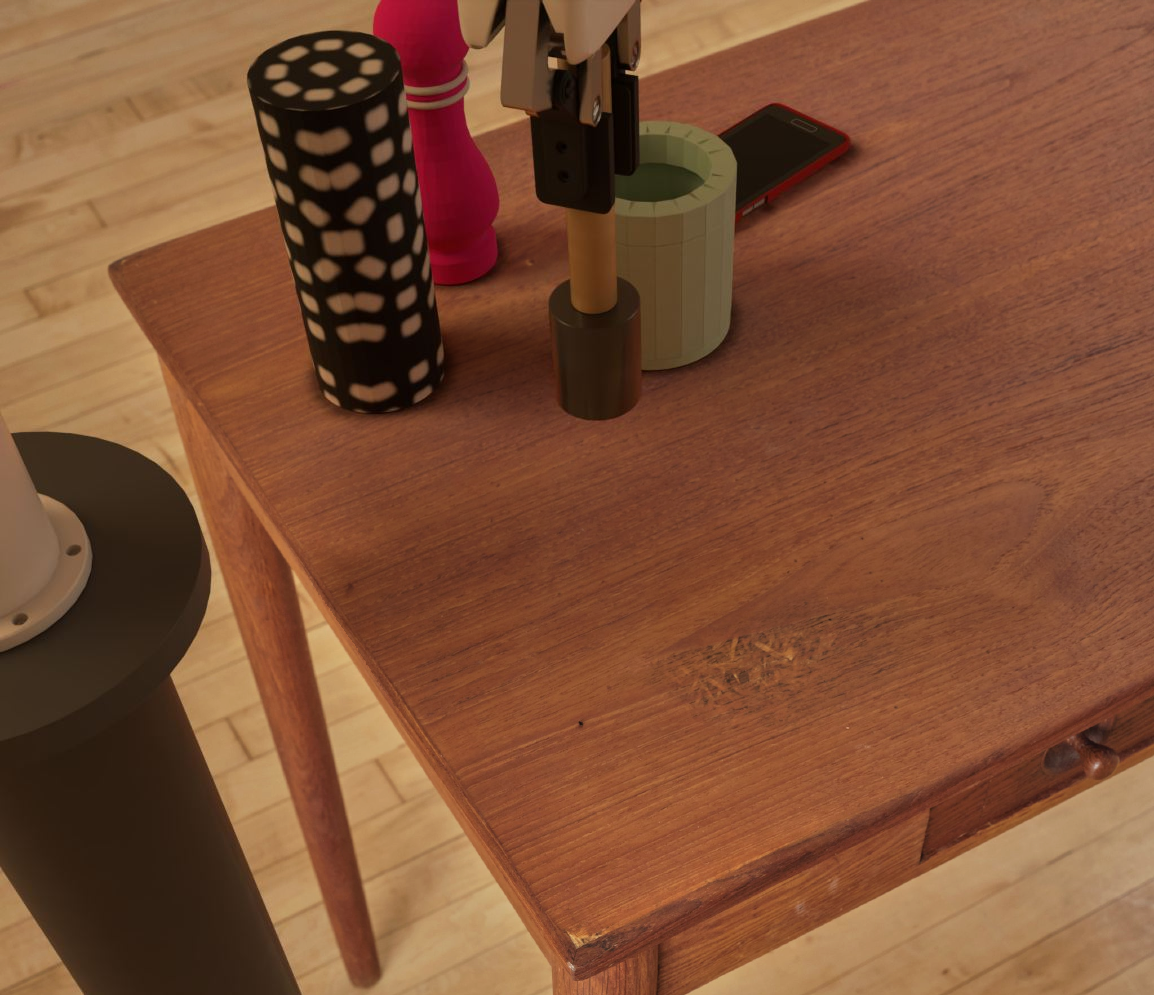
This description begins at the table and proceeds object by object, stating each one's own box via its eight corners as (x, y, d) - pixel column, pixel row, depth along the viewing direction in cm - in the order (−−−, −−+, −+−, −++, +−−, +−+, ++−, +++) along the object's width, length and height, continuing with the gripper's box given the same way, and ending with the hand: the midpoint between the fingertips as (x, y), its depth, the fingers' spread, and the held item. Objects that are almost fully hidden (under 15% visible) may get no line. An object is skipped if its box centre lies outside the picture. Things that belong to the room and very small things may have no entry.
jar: (589, 381, 95) (581, 227, 86) (562, 286, 101) (552, 133, 92) (746, 357, 95) (754, 202, 87) (710, 264, 101) (714, 110, 93)
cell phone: (854, 149, 109) (855, 136, 108) (716, 238, 103) (717, 226, 102) (774, 111, 112) (774, 99, 111) (636, 196, 106) (636, 183, 106)
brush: (561, 427, 67) (537, 84, 55) (549, 371, 70) (523, 30, 57) (648, 415, 68) (645, 71, 55) (634, 359, 70) (627, 18, 57)
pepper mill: (516, 277, 102) (488, -24, 86) (413, 299, 101) (364, 0, 85) (490, 219, 106) (458, -78, 90) (391, 240, 105) (340, -56, 89)
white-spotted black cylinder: (291, 375, 97) (215, 75, 81) (388, 314, 100) (334, 15, 84) (374, 431, 93) (312, 129, 77) (472, 367, 96) (432, 63, 80)
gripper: (548, -452, 51) (574, 73, 66) (336, -276, 42) (421, 283, 57) (760, -438, 49) (738, 99, 64) (583, -251, 40) (605, 321, 55)
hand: (588, 183), depth 60 cm, fingers closed on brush, 2 cm apart
